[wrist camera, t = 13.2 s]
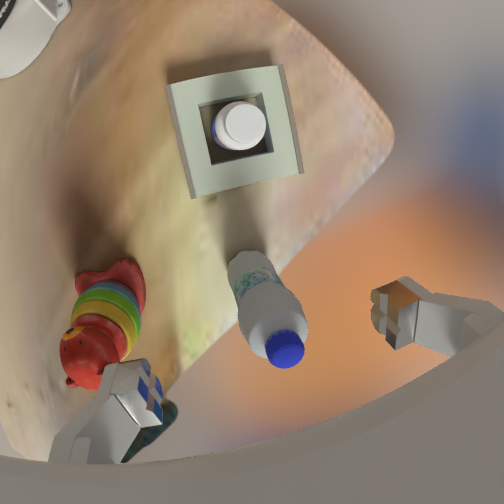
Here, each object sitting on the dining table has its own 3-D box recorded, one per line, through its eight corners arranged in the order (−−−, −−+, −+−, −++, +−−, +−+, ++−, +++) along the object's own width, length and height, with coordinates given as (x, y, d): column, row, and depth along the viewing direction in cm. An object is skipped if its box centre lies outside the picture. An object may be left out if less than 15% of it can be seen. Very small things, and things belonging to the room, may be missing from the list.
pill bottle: (206, 145, 35) (211, 144, 26) (215, 105, 34) (223, 91, 25) (248, 153, 37) (266, 156, 28) (257, 114, 35) (278, 104, 26)
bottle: (258, 293, 44) (302, 389, 26) (216, 279, 42) (238, 379, 24) (278, 254, 42) (339, 335, 24) (235, 237, 40) (273, 318, 22)
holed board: (167, 91, 32) (165, 85, 28) (274, 71, 33) (282, 64, 30) (191, 194, 37) (191, 199, 34) (294, 170, 39) (304, 173, 35)
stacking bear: (134, 253, 38) (101, 327, 22) (160, 313, 42) (150, 403, 26) (72, 274, 37) (20, 347, 21) (100, 329, 41) (71, 414, 25)
